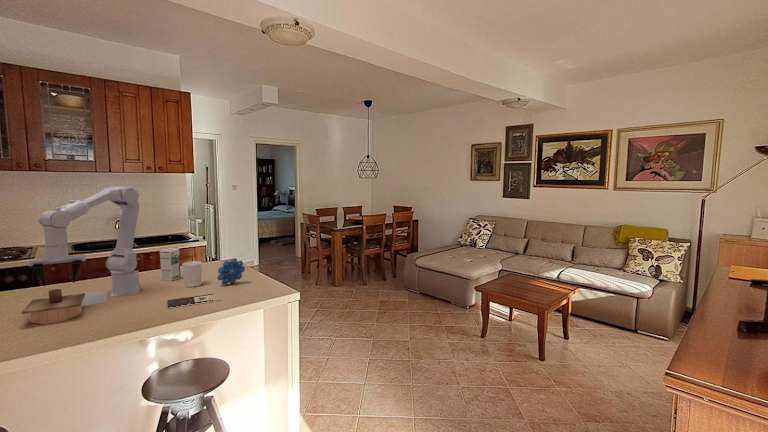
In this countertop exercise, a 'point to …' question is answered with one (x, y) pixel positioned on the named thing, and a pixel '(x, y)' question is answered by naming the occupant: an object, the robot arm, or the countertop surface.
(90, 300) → the mat
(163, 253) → the syrup box
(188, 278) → the white cup
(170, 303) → the chocolate bar
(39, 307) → the lid
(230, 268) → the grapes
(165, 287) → the countertop surface
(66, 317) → the bowl
